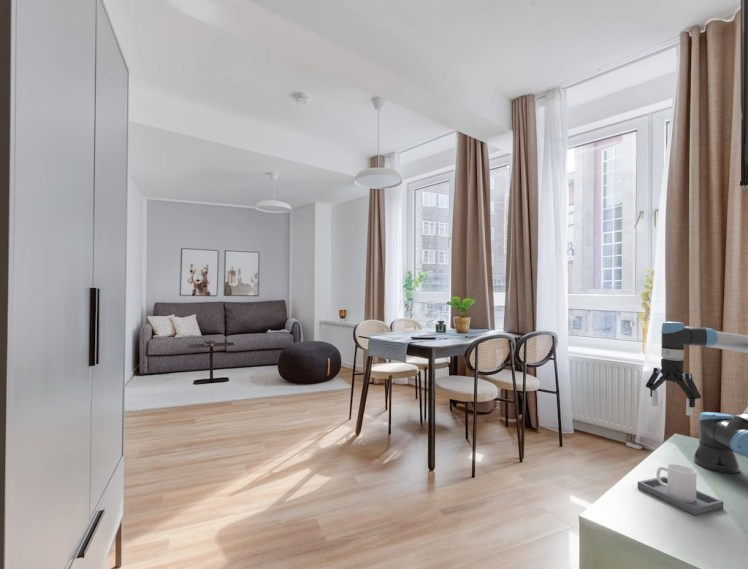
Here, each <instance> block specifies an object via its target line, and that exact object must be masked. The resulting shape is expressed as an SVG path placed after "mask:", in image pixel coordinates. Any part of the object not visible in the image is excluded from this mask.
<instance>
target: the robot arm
mask: <svg viewBox="0 0 748 569" xmlns="http://www.w3.org/2000/svg"><path fill="white" fill-rule="evenodd" d="M660 332H661V333H660V334H661V354H660V355H661V359H660V360H661V361H660V367H661V368H660V367H653V371H652V374H651V375H650V377H649V379H648V380H647V382H646V384H645V387H646V388H648V389H649V390H650V395H649V396H650V397H651V406H653V407H657V406H659V389H658V388H659V387H660V386H661V385H662V384H663V383H665V382H666V381H667V382H672V383H676V384H677V385H678V386H679V387H680V389H682V391H683V392H684V394H685V395H686V397H687V398H686V399H685V400H686V401H685V402H686V404H685V405H686V407H685V415H686V416H693V412H694V411H693V410H694V408H695V407H696V400H698V399H701V398H702V396H701V394H700V392H699V390H698V388H697V386H696V384H695V382H694V380H693V374H692V373H691V372H690V373H685V372H684V366H685V364H684V359H685V346H695V347H696V346H698V347H699V346H700V347H707V348H711V349H712V348H713V349H721V350H725V351H730V352H731V351H733V352H738V353H745V354H747V355H748V335H745V334H740V333H732V332H726V331H717V330H715V329H713V328H711V327H695V326H688V325H685V324H684V322H682V321H681V322H680V321H664V322H663V323H662V325H661V331H660ZM660 374H661V376H660V377H659V375H660ZM657 379H658V380H657ZM684 379H685V380H684ZM698 422H699V425H698V427H699V431H698V432H699V433H698V435H699V436H698V437H699V439H698V440H699V441H698V442H699V443H698V446H697V449H696V450H695V452H694V456H693V461H694V463H696V465H698V466H700V467H702V468H705V469H709V470H712V471H715V472H719V473H726V474H737V473H739V472H740V465H739V462H738V460H737V456H736V455H735V453H736V454H737V455H738V456H742V457H745V458H747V459H748V406H747V407H746V409H745V410H744V411H743V413H742V414H736V415H733V414H728V413H723V412H722V413H721V412H715V411H714V412H711V411H710V412H709V411H703V412H701V413H699V418H698Z"/></svg>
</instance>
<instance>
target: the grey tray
mask: <svg viewBox="0 0 748 569" xmlns="http://www.w3.org/2000/svg"><path fill="white" fill-rule="evenodd" d="M660 479H661V481H662V482H663V483H665V484H668V476H660ZM638 488H639V489H638ZM637 489H638V490H640V489H641V490H640V491H642V490H643V491H642V492H644V491H645V493H647V494H649V495H651V496H653V497H655V498H657V499H660V500H661V501H663V502H665V503H667V504H669V505H672V506H674V507H675V508H678V509H680V510H682V511H683V512H686V513H688V514H690V515H691V516H692V515H693V516H695V517H698V516H702V515H705V514H710V513H713V512H716V511H717V512H718V511H722V510H724V506H725V504H724V501H723V500H720V499H718V498H716V497H713V496H711V495H709V494H706V493H705V492H701V491H699V490H697V489H696V500H695V502H692V503H688V502H683V501H681V500H679V499H677V498H675V497H672V496H670V495H669V494H668V491H667V488H666V487H664V486H662V485H661V484H660V483H659V482H658V480H657V477H654V478H649V479H645V480H638V481H637ZM721 509H722V510H721Z"/></svg>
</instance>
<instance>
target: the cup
mask: <svg viewBox="0 0 748 569" xmlns="http://www.w3.org/2000/svg"><path fill="white" fill-rule="evenodd" d="M661 471H664V472H667V478H668V484H665V483H663V482H662V481H661V479H660V477H661ZM656 478H657V480H658V482H659V483H660V484H661V485H662V486H664V487H666V488H667V491H668V494H669V495H670V496H672V497H675V498H677V499H679V500H681V501H683V502H688V503H692V502H695V500H696V490H697V471H696V470H695V469H694V468H692V467H688V466H685V465H682V464H676V463H675V464H674V463H673V464H672V463H671V464H668V465H667V467H665V466H659V467H658V468H657V469H656Z"/></svg>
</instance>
